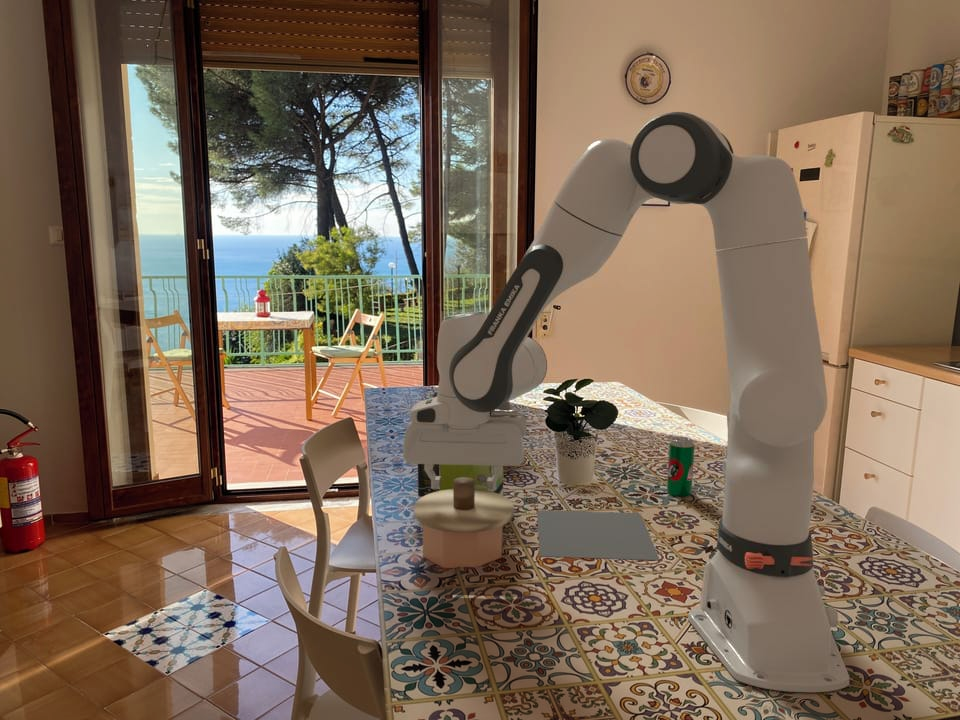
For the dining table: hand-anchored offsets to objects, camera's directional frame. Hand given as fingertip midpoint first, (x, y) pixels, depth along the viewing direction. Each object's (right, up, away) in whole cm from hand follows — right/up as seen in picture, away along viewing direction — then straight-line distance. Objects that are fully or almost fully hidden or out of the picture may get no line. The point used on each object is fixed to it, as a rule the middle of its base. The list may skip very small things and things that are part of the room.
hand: (463, 488), depth 119 cm
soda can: (+45, -7, +29) cm, 54 cm away
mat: (+23, -10, +9) cm, 27 cm away
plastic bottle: (+60, -5, +38) cm, 71 cm away
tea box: (-1, -8, +21) cm, 22 cm away
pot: (0, -11, +2) cm, 11 cm away
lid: (0, -4, +1) cm, 4 cm away
